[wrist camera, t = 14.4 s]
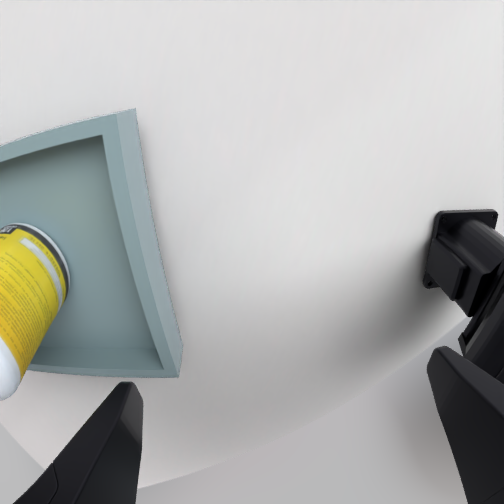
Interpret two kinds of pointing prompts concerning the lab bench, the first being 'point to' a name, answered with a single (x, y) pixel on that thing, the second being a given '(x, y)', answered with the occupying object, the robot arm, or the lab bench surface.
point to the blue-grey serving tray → (96, 247)
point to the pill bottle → (27, 297)
